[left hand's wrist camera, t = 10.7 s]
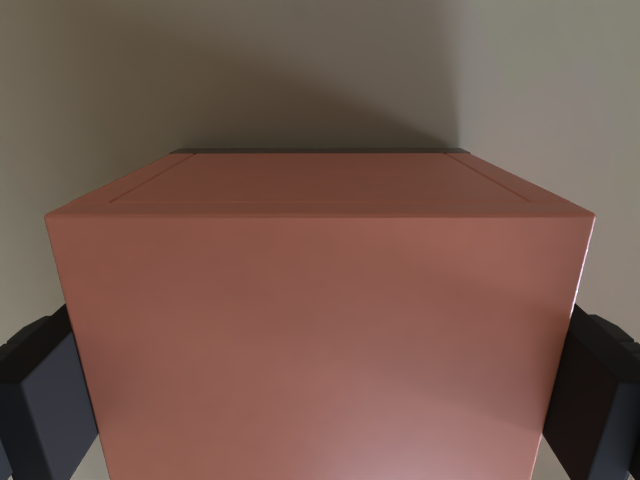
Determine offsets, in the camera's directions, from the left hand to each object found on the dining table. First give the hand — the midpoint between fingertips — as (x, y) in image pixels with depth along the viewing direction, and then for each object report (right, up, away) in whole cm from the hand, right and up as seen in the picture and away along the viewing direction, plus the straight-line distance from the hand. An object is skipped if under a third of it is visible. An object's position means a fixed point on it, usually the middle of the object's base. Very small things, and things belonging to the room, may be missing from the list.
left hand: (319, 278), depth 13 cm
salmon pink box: (0, -5, +5) cm, 7 cm away
